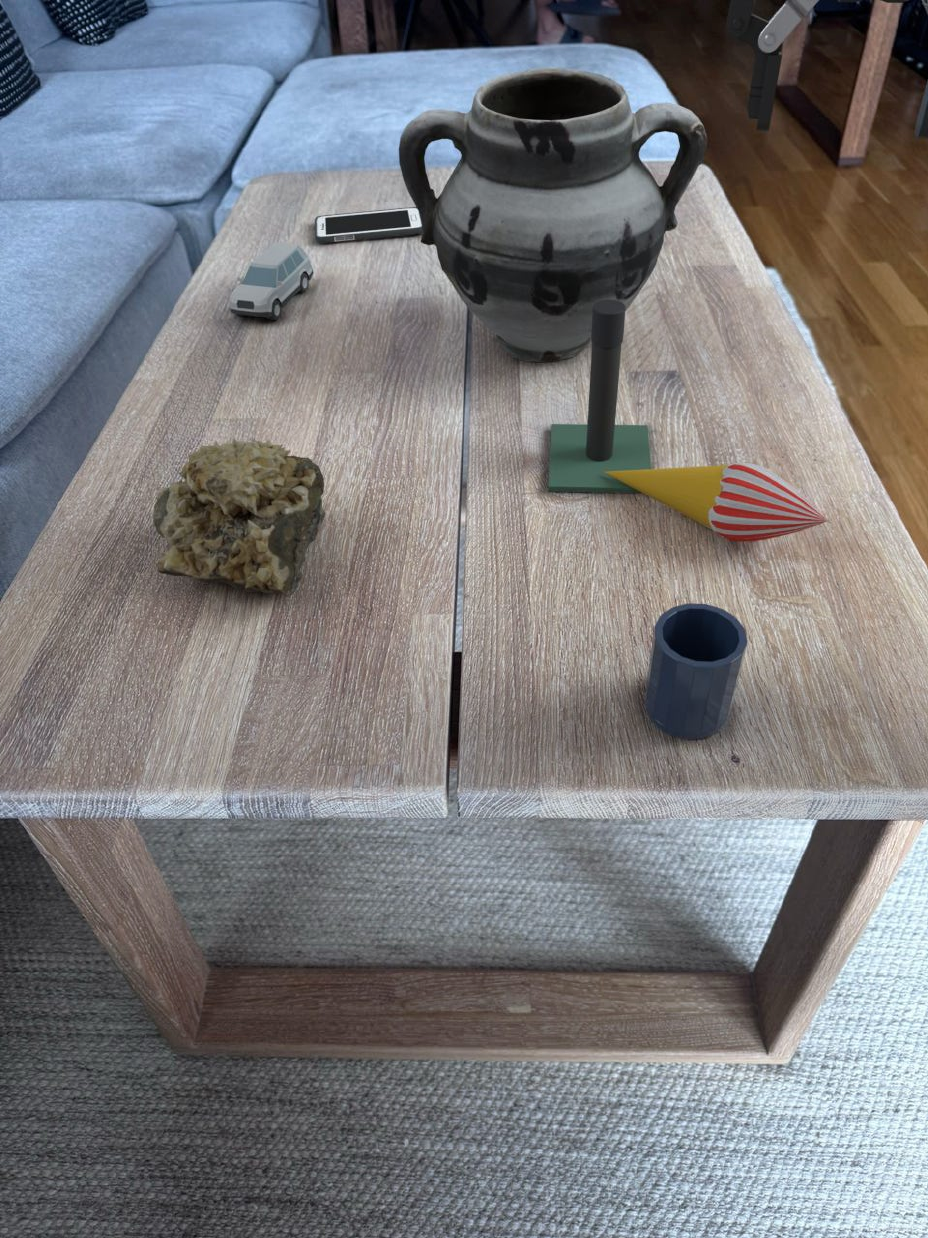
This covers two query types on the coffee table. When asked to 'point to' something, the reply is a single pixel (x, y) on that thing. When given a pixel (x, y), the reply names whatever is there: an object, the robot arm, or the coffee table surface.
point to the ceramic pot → (548, 202)
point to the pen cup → (694, 670)
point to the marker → (604, 377)
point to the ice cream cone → (729, 499)
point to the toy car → (272, 281)
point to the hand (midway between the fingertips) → (841, 132)
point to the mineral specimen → (241, 516)
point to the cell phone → (368, 225)
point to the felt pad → (586, 475)
